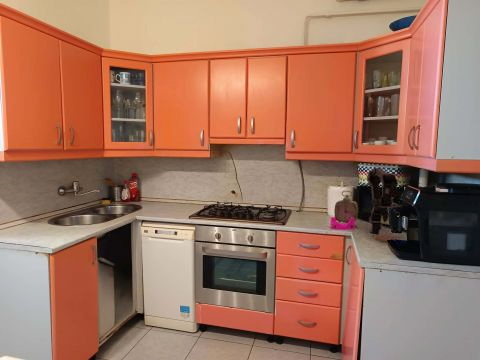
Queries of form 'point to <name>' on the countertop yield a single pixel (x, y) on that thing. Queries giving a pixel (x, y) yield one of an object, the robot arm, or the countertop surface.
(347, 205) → the tabletop clock
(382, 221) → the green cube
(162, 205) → the countertop surface
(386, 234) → the tower top
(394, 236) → the tower base
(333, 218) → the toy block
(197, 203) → the countertop surface
